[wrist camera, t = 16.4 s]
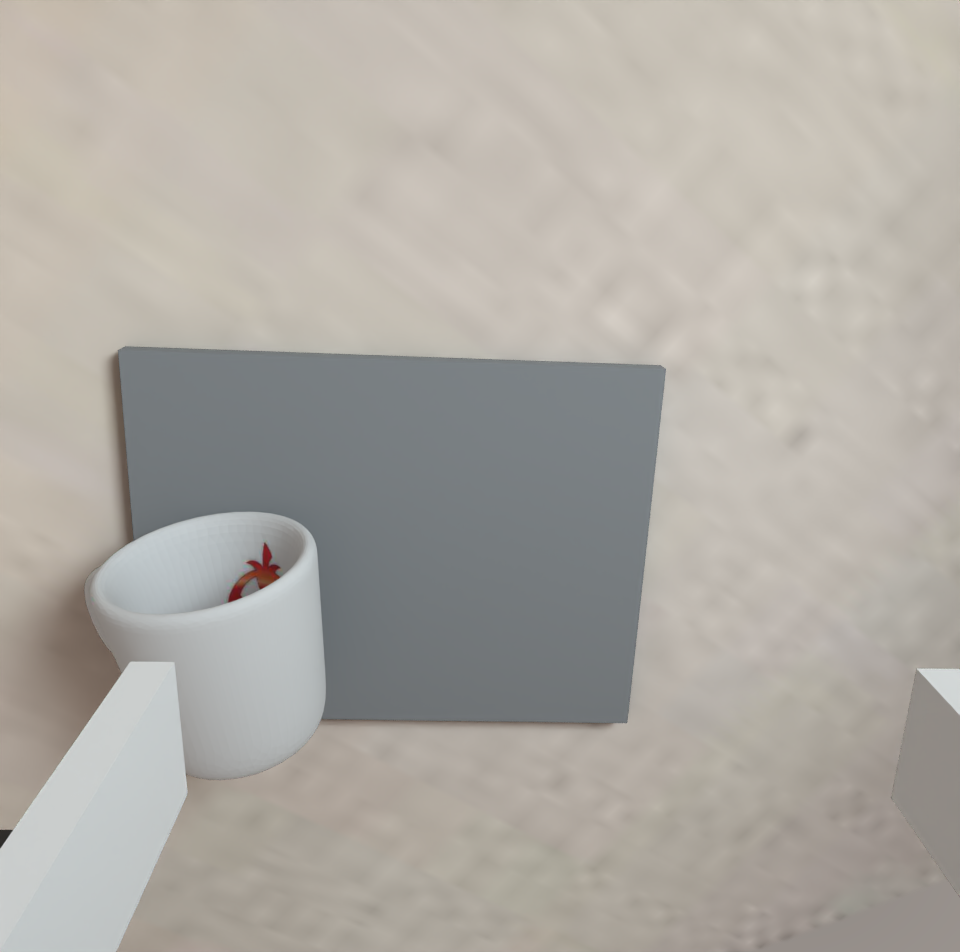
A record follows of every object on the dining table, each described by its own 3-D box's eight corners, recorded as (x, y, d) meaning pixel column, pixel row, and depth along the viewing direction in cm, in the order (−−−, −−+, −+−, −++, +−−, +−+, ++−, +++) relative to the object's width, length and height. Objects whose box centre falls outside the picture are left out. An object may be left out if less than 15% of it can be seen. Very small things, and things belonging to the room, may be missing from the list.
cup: (47, 754, 35) (-16, 580, 32) (191, 644, 42) (151, 489, 38) (258, 836, 30) (209, 640, 27) (384, 697, 37) (357, 525, 34)
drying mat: (660, 365, 36) (665, 369, 35) (623, 713, 41) (627, 723, 40) (125, 346, 34) (118, 350, 34) (153, 706, 39) (148, 716, 39)
